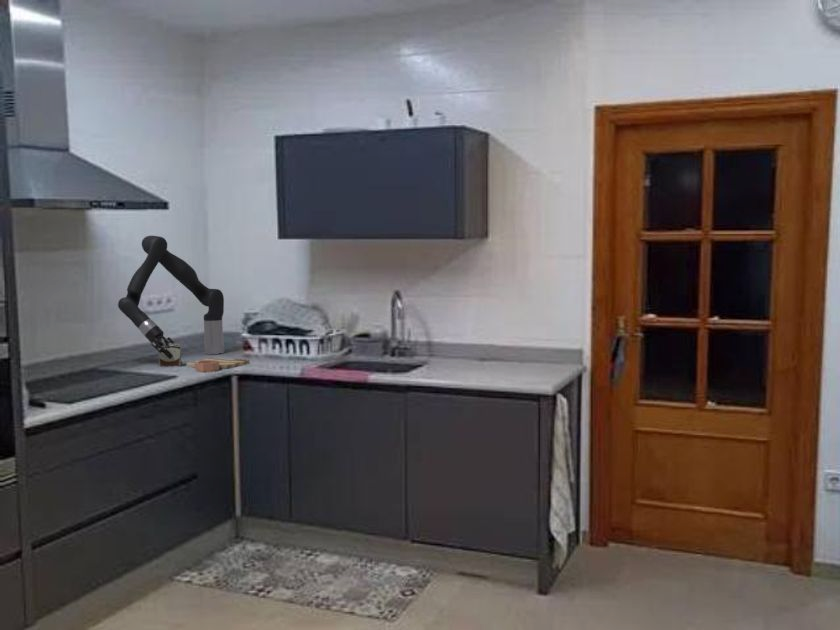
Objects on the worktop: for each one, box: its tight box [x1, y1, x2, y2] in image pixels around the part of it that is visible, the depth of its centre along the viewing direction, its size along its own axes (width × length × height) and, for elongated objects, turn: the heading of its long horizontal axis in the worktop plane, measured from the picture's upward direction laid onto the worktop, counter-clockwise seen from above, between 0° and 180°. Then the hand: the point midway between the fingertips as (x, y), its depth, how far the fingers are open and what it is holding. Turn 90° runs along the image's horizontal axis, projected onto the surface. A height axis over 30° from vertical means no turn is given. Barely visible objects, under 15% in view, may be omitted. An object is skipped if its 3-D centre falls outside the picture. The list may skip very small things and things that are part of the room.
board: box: [186, 357, 250, 370], centre depth 381 cm, size 18×22×2 cm
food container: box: [157, 343, 184, 367], centre depth 381 cm, size 12×6×10 cm, turn 84°
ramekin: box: [194, 360, 219, 373], centre depth 366 cm, size 10×10×4 cm
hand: (175, 356), depth 381 cm, fingers closed on food container, 6 cm apart
